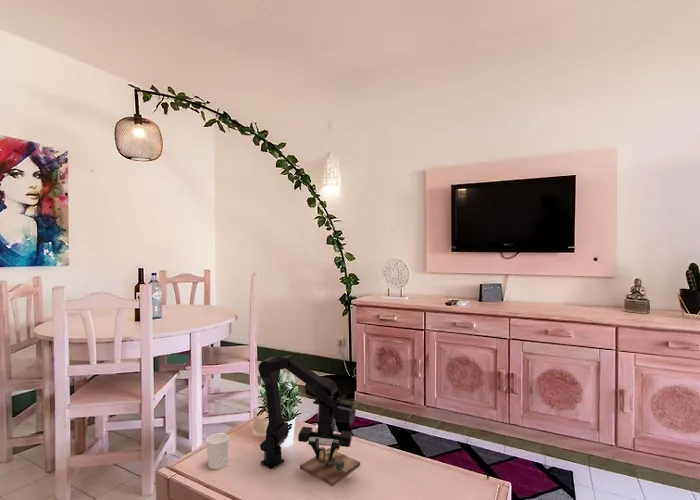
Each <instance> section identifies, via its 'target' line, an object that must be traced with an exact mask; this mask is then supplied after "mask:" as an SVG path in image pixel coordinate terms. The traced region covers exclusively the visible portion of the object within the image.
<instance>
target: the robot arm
mask: <svg viewBox="0 0 700 500" xmlns="http://www.w3.org/2000/svg"><path fill="white" fill-rule="evenodd" d="M284 369H285V370H287V371H288V372H289V373H291V374H292V375H294V376H295V377H296V378H298V379H299V380H300V381H302V382H303V383H304V384H305V385H307V386H308V387H310V389H311V391H312V393H313V395H314V396H315V397H317V398H316V399H315V400H314V401H313V402H312V404H313V405H318V412H317V418H316V424H318V432H315V431H313V427H309V426H302V427H301V429H300V431H299V432H298V436H297V441H298V442H300V443H307V444H308V445H310V447H311V448H312V450H313V452H314V454H315V455H314V456H316V457H317V459H318V460H319V448H320V444H319V439H328V440H332V441H333V442H332V445H330V449H331V450H330V457H329V461H331V459H332V456H333V453H334V451H335V449H336V448H339V447H340V448H341V447H344V448H349V447H351V443H352V439H353V434H352V432H351V431H346V430H345V431H344V430H341V431H340V433H336V432H335V431H336V422H340V423H341V422H342V423H345V424H349V425H352V424H353V423H354V421H355V417H356V408H355V406H354V402H346V401H344V397H343V396H342V394H341V392H340V390H339V388H338V386H337V385H338V384H337V382H335V380H332V379H330V378H328V377H326V376H321V375H318V374H317V373H316V372H315V371H313V370H311V369H310V368H309V367H307V366H305V365H304V364H303V363H302V362H300V361H299V360H297V359H296V358H295V357H294V356H293V355H286V356H281V357H276V356H271V357H269V358H267V359H265V360H262V361H261V362H259V364H258V369H257V370H258V372H259V373H258V374H259V377H260V380H262V382H263V384H264V387H265V396H266V407H267V408H266V409H267V417H268V418H267V419H268V424H267V427H266V430H265V440H263V441H262V442H261V443H260V444H259V449H260V451H262V452H263V459H262V460H261V461H260V464H262V465H264V466H265V467H267V468H269V469H273V468H276V467H278V466H279V465H281V464H283V463H284V462H285V459H283V458H282V447H281V445H282V444H284V443H285V440H286V439H287V438H288V436H289V433H290V430H289V422H288V421H285V420H284V419H283V418H282V410H281V409H282V408H281V399H280V390H279V378H280V376H281V370H284ZM333 397H334V398H333ZM332 398H333V399H332ZM333 432H334V434H333Z"/></svg>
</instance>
